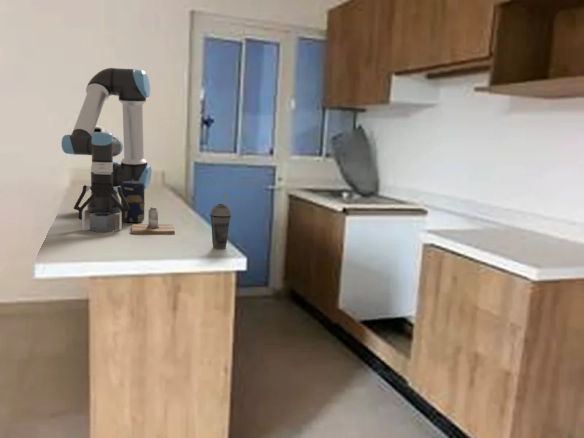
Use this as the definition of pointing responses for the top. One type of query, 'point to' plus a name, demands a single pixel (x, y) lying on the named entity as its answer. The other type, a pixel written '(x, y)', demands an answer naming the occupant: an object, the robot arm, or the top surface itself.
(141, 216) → the canister
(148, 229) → the post block
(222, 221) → the beverage cup
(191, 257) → the top surface
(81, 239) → the top surface
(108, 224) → the ring
